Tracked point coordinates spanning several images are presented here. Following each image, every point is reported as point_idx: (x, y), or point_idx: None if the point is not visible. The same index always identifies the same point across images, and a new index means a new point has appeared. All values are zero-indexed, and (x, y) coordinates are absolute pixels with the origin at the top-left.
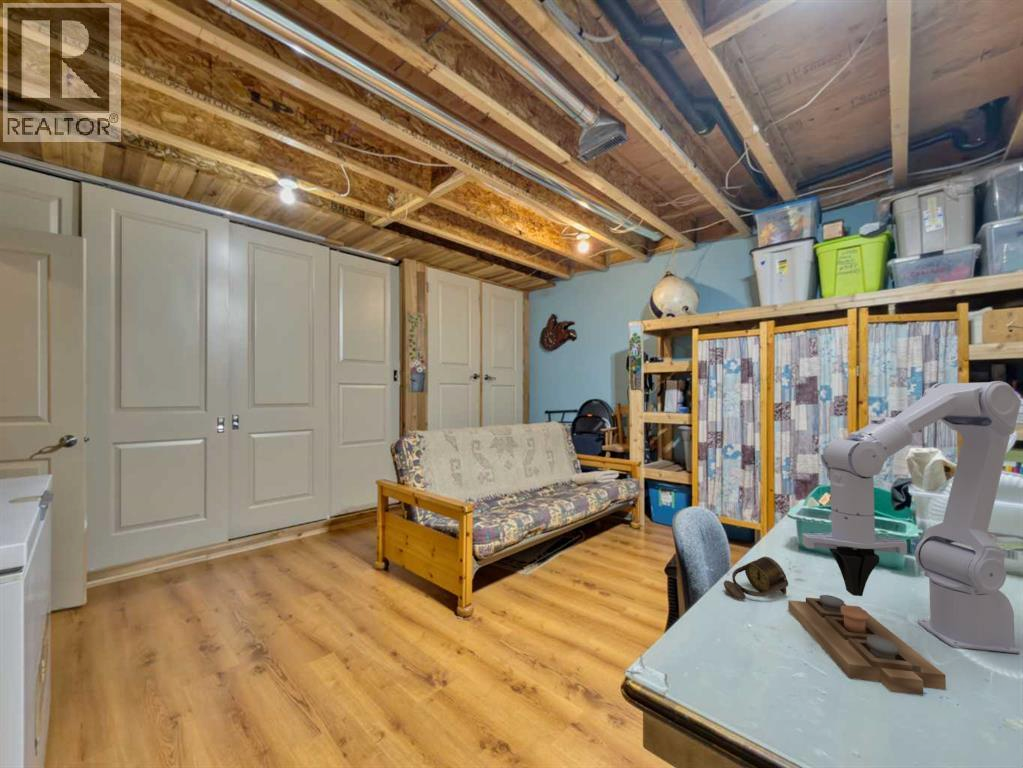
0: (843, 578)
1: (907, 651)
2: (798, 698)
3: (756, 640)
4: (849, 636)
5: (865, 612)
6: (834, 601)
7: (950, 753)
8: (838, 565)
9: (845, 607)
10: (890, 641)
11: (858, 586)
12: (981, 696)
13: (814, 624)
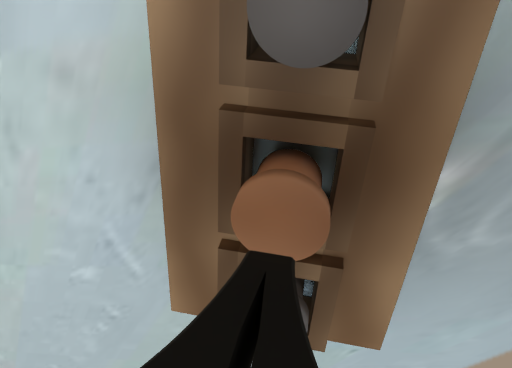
0: (224, 286)
1: (376, 274)
2: (67, 323)
3: (11, 154)
4: (232, 232)
5: (318, 236)
6: (306, 32)
7: None
8: (167, 348)
9: (256, 200)
10: (303, 318)
11: (252, 358)
12: (439, 339)
13: (168, 137)
